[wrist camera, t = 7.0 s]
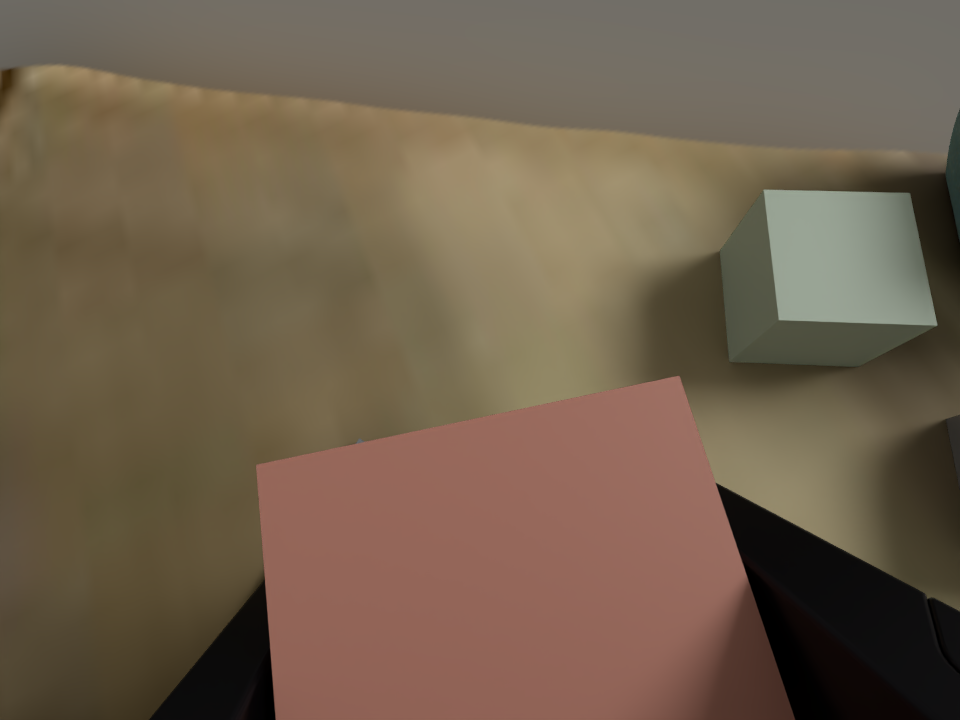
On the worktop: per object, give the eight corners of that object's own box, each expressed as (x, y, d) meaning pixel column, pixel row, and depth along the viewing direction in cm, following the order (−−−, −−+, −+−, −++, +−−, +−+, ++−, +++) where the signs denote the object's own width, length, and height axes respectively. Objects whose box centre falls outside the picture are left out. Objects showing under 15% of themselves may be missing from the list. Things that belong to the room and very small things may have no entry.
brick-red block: (637, 686, 14) (856, 900, 5) (429, 733, 13) (300, 1034, 5) (582, 476, 15) (679, 375, 7) (396, 517, 15) (255, 464, 7)
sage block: (856, 367, 23) (937, 325, 19) (728, 362, 23) (779, 320, 19) (839, 255, 24) (910, 192, 20) (718, 252, 25) (763, 189, 20)
